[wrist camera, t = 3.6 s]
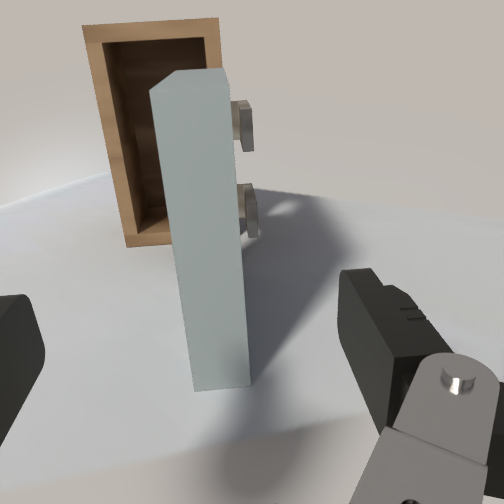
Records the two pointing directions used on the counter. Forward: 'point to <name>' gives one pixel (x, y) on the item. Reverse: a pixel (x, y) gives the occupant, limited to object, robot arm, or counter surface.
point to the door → (204, 221)
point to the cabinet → (141, 117)
